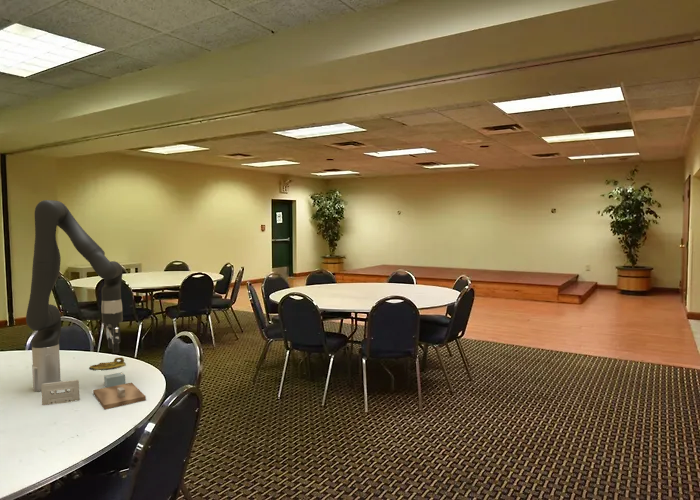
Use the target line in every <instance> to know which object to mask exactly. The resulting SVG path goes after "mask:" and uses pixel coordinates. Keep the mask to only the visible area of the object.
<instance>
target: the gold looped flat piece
mask: <svg viewBox="0 0 700 500" xmlns="http://www.w3.org/2000/svg"><path fill="white" fill-rule="evenodd" d="M123 367H126V362H125V359H124V357H115V358H114V359H113V361H109V362H108V361H107V362H99V363H98V364H93V365H90V366H89V370H92V371H96V370H101V371H110V370H111V371H112V370H115V369H116V370H117V369H121V368H123Z"/></svg>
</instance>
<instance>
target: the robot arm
mask: <svg viewBox="0 0 700 500" xmlns="http://www.w3.org/2000/svg"><path fill="white" fill-rule="evenodd" d="M57 227H58V228H60V229H61V230H62V231H63V232H64V233H65V234H66V235H67V236H68V239H70V241H71V243H72V245H73V246H74V248H75V249H76V251H77V252H78V253H79V254H80V255H81V256H82V257H83V258H84V259H85V260H86V261H87V262H88V263H89V264H90V266H91V268H92V269H93V271H94V272H95V274H97V276H99V277H100V278H101V279H103V280H104V281H103V282H104V284H103V286H102V287H101V323H102V324H104V325H105V336H106V339H107V347H108V349H110V350H111V349H112V353H113V354H117V353H120V343H121V342H122V340H121V339H122V338H121V328H120V327H119V326H118V324H120V323H122V322H123V320H124V317H123V315H124V314H123V302H122V291H121V287H122V280H123V269H122V266H121V264H120V263H119V262H118V261H115V260H113V261H112V260H111V261H110V260H109V259H108V257H107V256H105V255H106V253H105V250H104V249H103V248H102V247H101V246H100V245H99V244H98V243H97V242H96V241H95V240H94V239H93V238H92V237H91V236H90V235H89V234H88V233H87V232H86V231H85V230H84V228H82V226H81V224H79V222H78V221H77V220H76V218H75V217H74V215H73V214H72V213H71V211H70V210H69V208H68V207H67V206H66V204H65V203H63V202H61V201H59V200H52V199H51V200H50V199H44V200H41V201H39V202H38V203H37V204H36V206H35V208H34V235H35V236H34V246H33V248H34V249H33V258H32V267H31V268H32V269H31V270H32V272H31V273H32V274H31V284H30V295H29V299H28V304H27V309H26V314H25V323H26V324H27V326H28V328H29V329H30V330H32V331H35V332H37V333H36V334H35V336H34V337H33V339H32V340H31V354H32V358H31V359H32V364H31V370H32V388H33V392H42V390H41V385H42V384H45V383H53V382H62V380H61V362H60V360H61V359H60V338H61V334H62V314H61V311H60V309H59V308H58V307H57V306H56V305H54V304H50V298H51V297H50V296H51V293H52V290H54V289H53V288H54V286H56V282H57V280H58V278H59V275H60V271H61V257H62V256H61V253H60V249H59V247H58V243H57V236H56V235H57Z"/></svg>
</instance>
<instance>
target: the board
mask: <svg viewBox="0 0 700 500" xmlns="http://www.w3.org/2000/svg"><path fill="white" fill-rule="evenodd" d="M92 394H93V396H94V395H95V396H94V397H95V398H96V400H97V401H98V402H100V403H99V404H100V406H101V407H102V408H103V409H104V410H107V409H113V408H117V407H122V406H126V405H131V404H135V403H140V402H145V401H147V398H146V397H147V396H146V395H145V394H144V393H143V392H142V391H141V390H140V389H139V388H138V387H137V386H136V385H135V384H134V383H133V382H128V383H125V384H122V385H117V386H112V387H106V386H105V387H102V388H97V389H93V390H92Z"/></svg>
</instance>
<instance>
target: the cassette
mask: <svg viewBox="0 0 700 500" xmlns="http://www.w3.org/2000/svg"><path fill="white" fill-rule="evenodd" d="M41 390H42V391H41V405H42V406H45V405H55V404H56V405H57V404H63V403H71V401H72V402H76V401H75V400H77V401H79V400H80V399H81V398H80V396H81V395H80V380H79V379H71V380H63V381H62V380H61V382H53V383H45V384H42V385H41ZM62 390H64V391H63V392H57V391H62Z"/></svg>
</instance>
